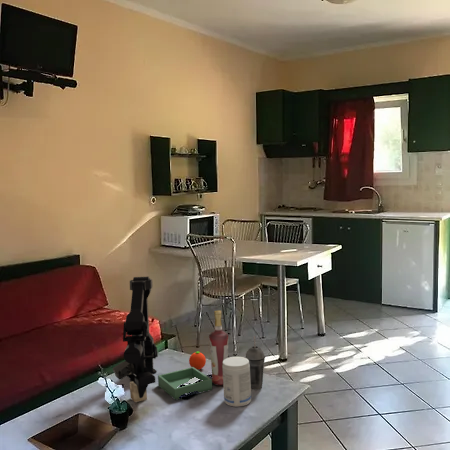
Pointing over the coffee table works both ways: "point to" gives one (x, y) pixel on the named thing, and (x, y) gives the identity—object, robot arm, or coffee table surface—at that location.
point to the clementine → (197, 360)
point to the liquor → (218, 349)
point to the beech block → (136, 393)
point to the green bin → (177, 378)
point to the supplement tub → (236, 381)
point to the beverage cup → (256, 366)
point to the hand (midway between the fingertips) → (138, 395)
